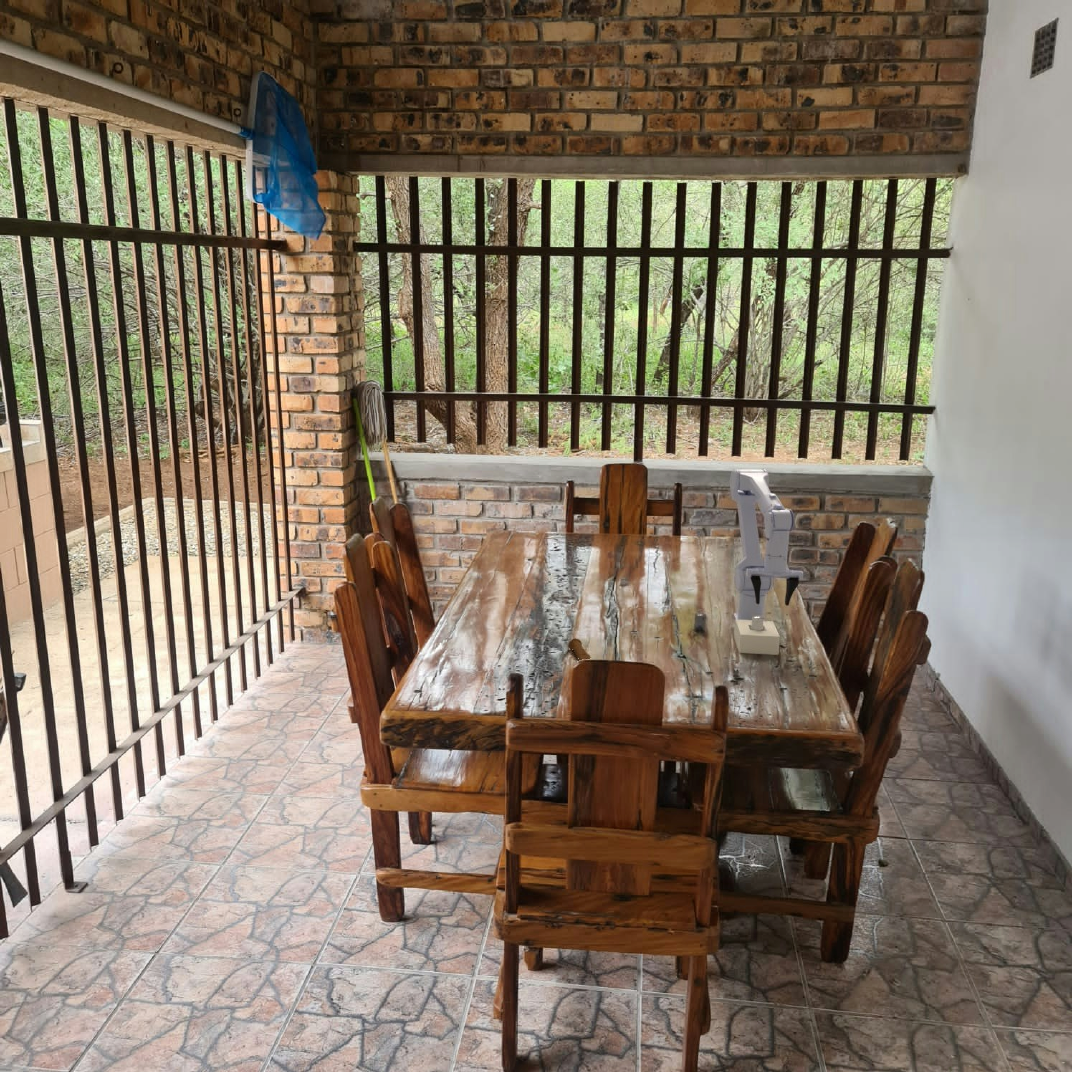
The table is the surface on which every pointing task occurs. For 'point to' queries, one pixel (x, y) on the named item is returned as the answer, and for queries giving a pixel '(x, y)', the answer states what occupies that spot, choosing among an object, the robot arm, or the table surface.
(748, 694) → the table surface
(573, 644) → the primitive tool
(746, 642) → the hole block
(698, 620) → the short pin
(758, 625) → the long pin
